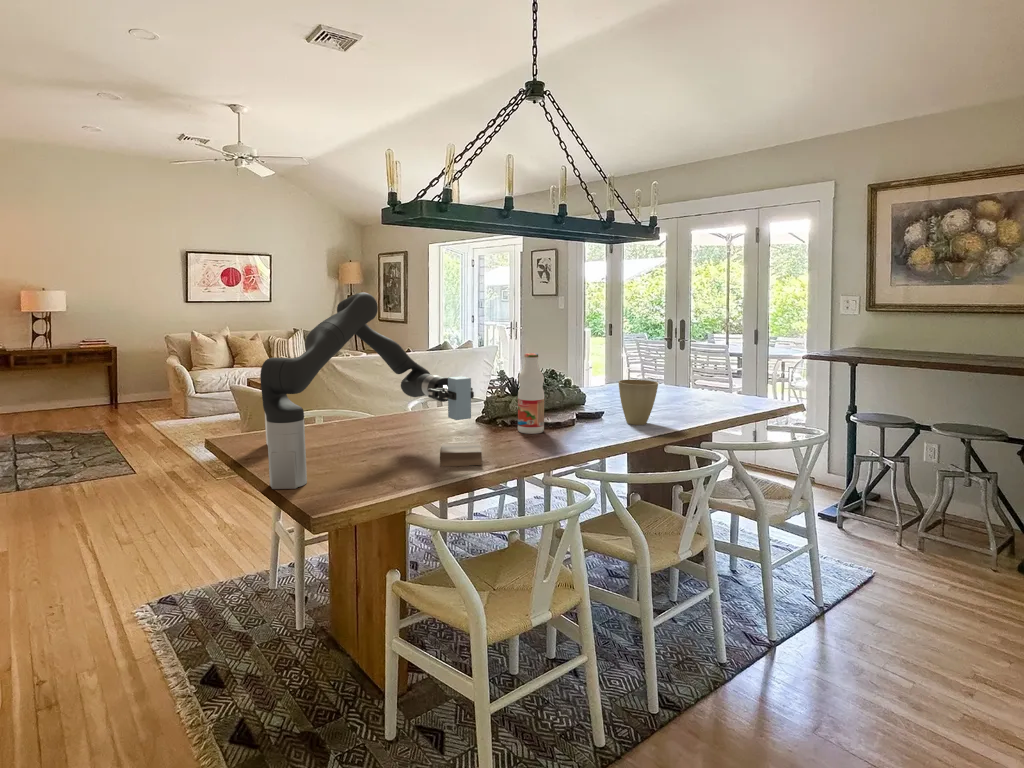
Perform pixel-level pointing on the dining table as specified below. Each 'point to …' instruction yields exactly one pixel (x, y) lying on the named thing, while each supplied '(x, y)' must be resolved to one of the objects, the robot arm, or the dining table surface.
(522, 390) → the fruit juice
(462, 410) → the blue block
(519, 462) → the dining table surface
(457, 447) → the walnut plinth
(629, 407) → the plant pot
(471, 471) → the dining table surface
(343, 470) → the dining table surface
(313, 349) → the robot arm
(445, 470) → the dining table surface
